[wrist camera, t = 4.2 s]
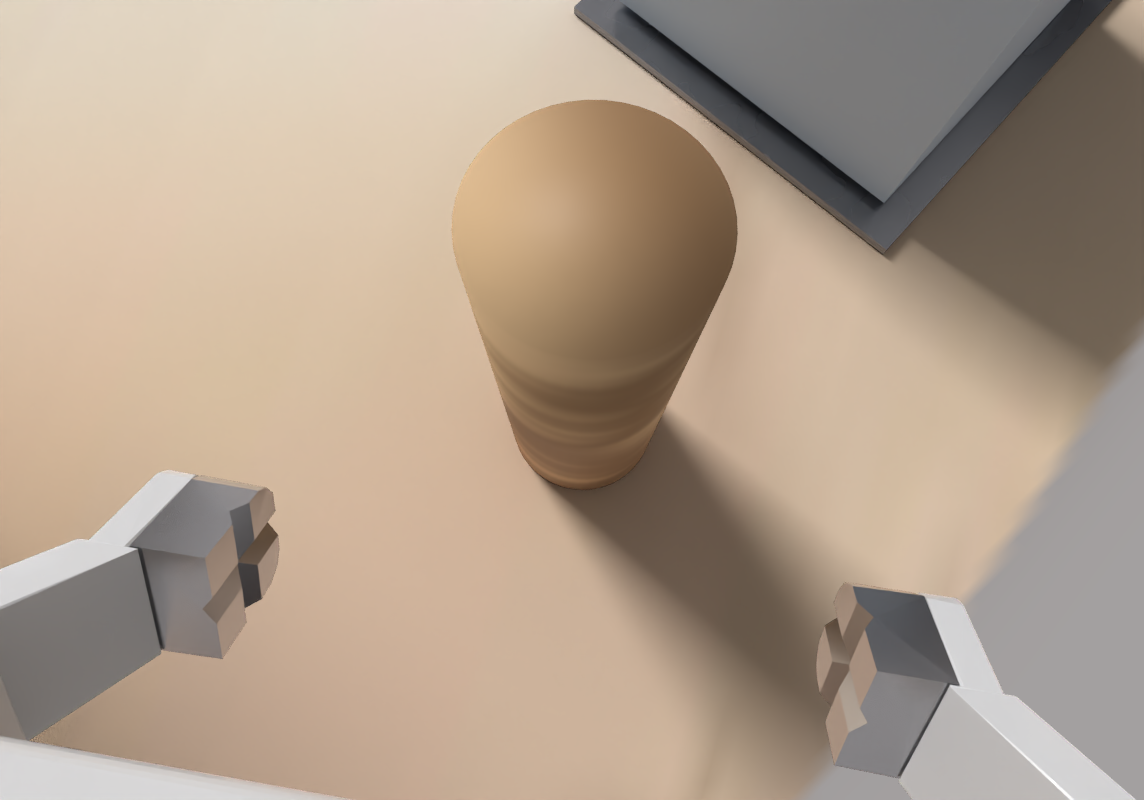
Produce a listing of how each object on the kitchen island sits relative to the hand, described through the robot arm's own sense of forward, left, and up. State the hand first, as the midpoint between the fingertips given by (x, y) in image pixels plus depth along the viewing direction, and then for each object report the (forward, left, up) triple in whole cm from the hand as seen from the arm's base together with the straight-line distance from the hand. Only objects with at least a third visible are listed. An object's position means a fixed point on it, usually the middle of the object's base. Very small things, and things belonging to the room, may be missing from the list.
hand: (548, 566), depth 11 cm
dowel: (+2, +4, -11) cm, 12 cm away
